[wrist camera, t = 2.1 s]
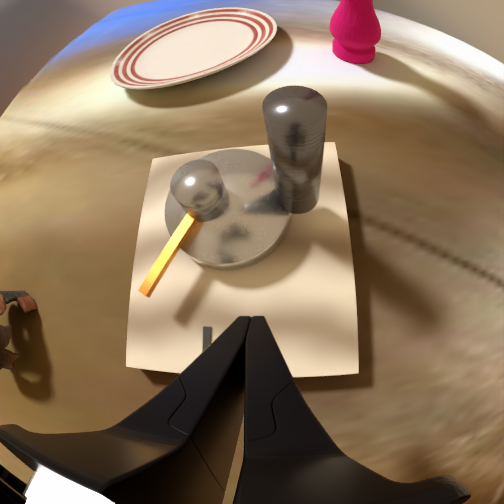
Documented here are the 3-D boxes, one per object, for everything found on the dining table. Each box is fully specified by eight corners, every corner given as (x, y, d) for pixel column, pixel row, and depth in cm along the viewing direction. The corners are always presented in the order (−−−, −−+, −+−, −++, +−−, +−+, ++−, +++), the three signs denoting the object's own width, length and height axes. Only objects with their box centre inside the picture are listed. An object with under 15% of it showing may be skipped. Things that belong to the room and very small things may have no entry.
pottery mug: (54, 318, 26) (1, 346, 18) (46, 364, 29) (4, 392, 21) (4, 254, 27) (-44, 268, 19) (-1, 305, 29) (-41, 322, 22)
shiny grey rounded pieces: (324, 300, 20) (352, 247, 10) (153, 302, 22) (58, 259, 12) (311, 157, 25) (313, 54, 14) (170, 170, 26) (117, 86, 16)
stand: (353, 371, 20) (358, 373, 18) (137, 366, 23) (125, 366, 21) (332, 155, 27) (334, 141, 25) (160, 169, 29) (152, 158, 27)
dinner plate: (159, 27, 45) (154, 16, 42) (289, 16, 40) (287, 1, 36) (90, 113, 37) (80, 99, 34) (259, 102, 31) (255, 81, 28)
